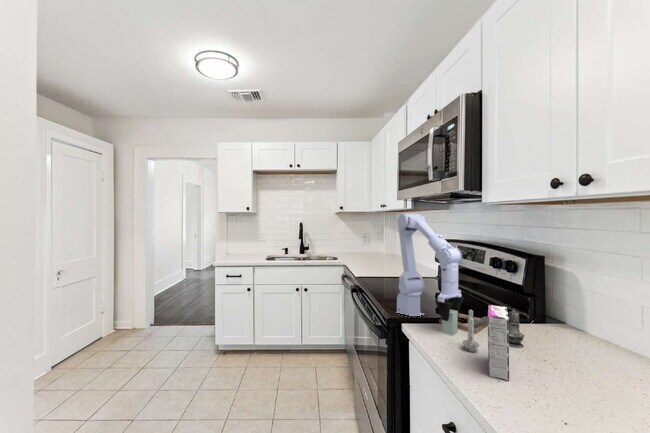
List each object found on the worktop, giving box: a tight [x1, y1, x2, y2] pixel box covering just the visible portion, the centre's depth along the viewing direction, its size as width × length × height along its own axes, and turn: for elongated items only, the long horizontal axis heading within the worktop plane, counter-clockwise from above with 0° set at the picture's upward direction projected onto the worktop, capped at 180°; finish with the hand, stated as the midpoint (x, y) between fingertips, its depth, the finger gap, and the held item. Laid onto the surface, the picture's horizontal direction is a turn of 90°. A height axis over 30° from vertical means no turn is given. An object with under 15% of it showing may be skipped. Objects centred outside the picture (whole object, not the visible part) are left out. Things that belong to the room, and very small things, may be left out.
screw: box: [461, 309, 480, 353], centre depth 94 cm, size 13×5×5 cm
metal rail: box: [473, 316, 488, 329], centre depth 113 cm, size 1×12×2 cm, turn 132°
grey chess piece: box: [508, 308, 525, 349], centre depth 99 cm, size 6×6×12 cm
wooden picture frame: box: [438, 312, 488, 335], centre depth 117 cm, size 14×14×2 cm
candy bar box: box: [487, 304, 510, 381], centre depth 82 cm, size 11×5×16 cm, turn 151°
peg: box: [441, 309, 459, 337], centre depth 109 cm, size 4×4×8 cm
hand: (449, 317), depth 108 cm, fingers open, 7 cm apart
